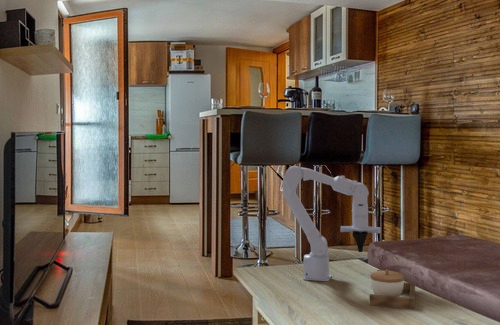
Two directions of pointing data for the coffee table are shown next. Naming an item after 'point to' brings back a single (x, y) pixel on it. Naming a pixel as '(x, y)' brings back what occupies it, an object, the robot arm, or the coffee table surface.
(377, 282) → the lidded jar
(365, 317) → the coffee table surface
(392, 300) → the walnut shelf
